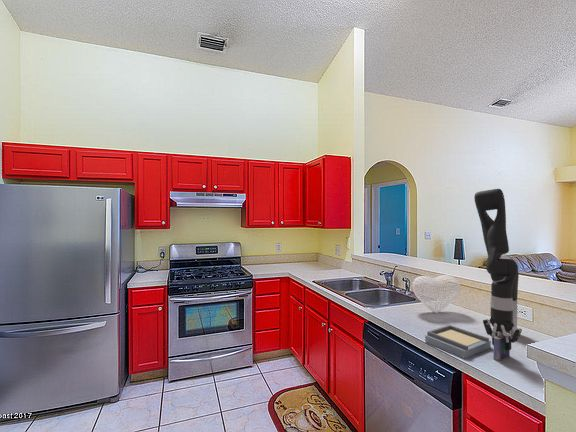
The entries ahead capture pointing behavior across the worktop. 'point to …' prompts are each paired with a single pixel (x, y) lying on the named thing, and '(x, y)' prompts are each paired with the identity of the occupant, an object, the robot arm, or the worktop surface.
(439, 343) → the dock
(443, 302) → the heart
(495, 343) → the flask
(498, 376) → the worktop surface
